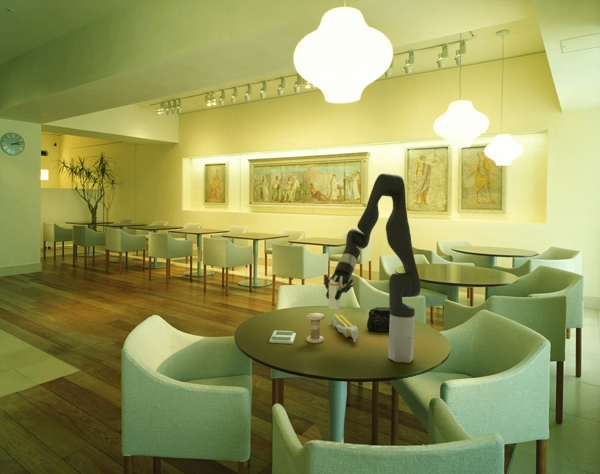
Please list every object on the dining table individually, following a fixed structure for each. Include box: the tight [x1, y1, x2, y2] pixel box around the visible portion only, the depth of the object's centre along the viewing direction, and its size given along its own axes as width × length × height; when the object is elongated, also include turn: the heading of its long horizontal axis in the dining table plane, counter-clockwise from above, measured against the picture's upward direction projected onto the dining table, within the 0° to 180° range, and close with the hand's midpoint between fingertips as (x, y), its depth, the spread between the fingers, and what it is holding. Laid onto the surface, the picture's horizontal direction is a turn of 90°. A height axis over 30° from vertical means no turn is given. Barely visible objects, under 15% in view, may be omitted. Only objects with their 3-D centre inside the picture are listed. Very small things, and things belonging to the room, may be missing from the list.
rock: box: [366, 306, 390, 332], centre depth 200 cm, size 18×10×15 cm
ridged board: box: [269, 330, 297, 345], centre depth 182 cm, size 12×10×2 cm
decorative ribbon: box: [329, 314, 359, 343], centre depth 192 cm, size 8×6×30 cm
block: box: [328, 281, 341, 310], centre depth 176 cm, size 4×4×11 cm
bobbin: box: [305, 312, 325, 344], centre depth 181 cm, size 8×8×11 cm
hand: (332, 298), depth 174 cm, fingers closed on block, 3 cm apart
